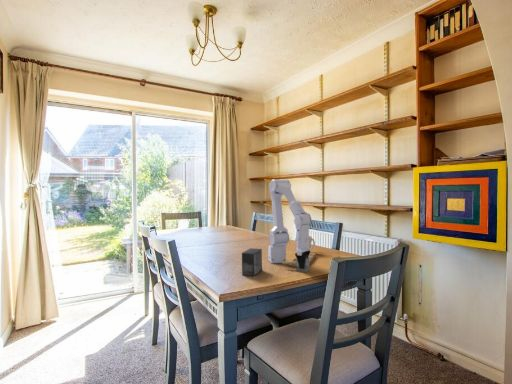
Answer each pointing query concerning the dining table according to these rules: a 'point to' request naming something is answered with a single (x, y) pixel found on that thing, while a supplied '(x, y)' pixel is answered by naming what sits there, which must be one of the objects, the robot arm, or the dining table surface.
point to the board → (311, 257)
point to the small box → (251, 262)
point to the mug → (310, 242)
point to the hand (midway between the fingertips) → (302, 267)
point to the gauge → (298, 264)
